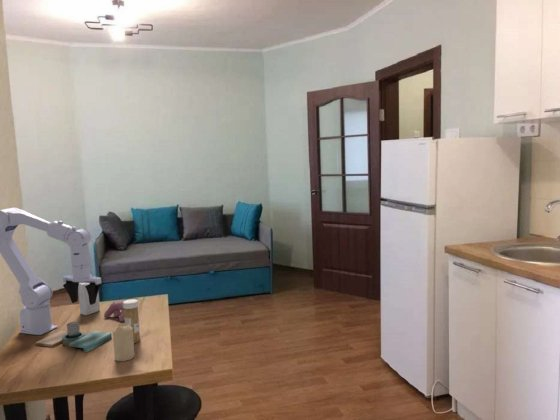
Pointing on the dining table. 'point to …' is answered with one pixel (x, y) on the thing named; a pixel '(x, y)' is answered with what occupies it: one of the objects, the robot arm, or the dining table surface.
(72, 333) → the pin
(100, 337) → the hinge
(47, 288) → the robot arm
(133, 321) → the sprinkles bottle
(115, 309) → the video game controller
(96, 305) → the skincare box
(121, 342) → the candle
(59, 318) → the dining table surface
